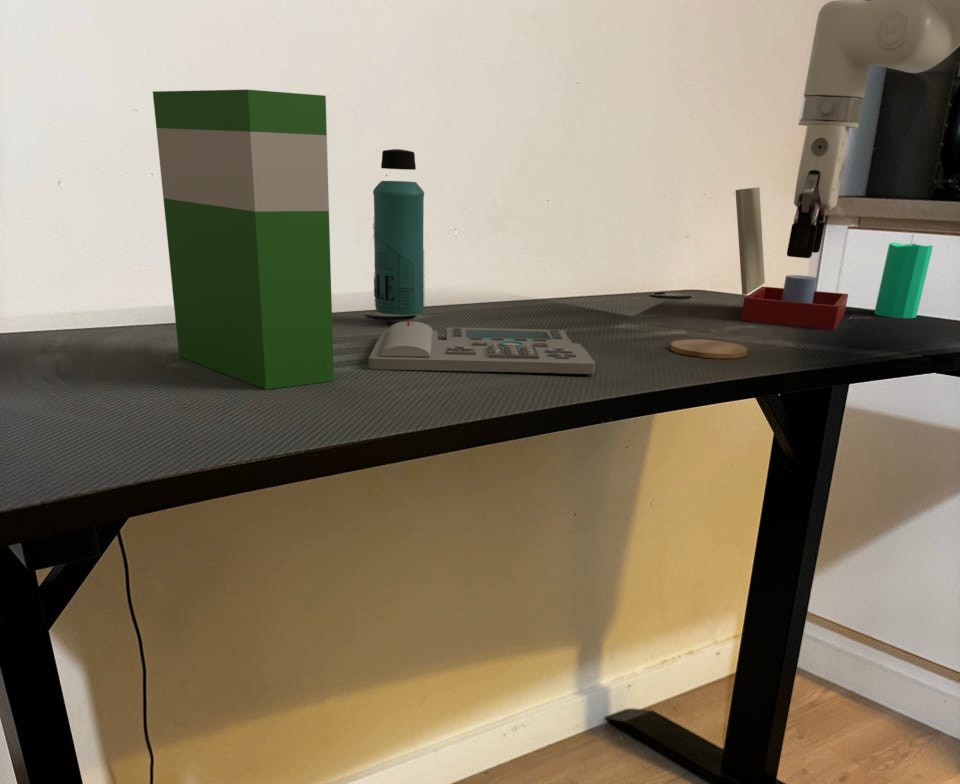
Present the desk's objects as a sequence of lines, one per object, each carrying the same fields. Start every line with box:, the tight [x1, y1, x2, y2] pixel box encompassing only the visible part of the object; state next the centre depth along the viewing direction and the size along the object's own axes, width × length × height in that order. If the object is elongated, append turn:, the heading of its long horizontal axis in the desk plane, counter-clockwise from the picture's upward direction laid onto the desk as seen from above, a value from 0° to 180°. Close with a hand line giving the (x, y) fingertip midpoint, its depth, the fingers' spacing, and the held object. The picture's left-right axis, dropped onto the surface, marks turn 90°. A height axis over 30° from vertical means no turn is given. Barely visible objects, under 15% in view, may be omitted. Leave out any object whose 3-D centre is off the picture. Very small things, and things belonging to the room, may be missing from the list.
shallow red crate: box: [740, 285, 849, 331], centre depth 137 cm, size 12×15×4 cm
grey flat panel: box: [735, 186, 766, 296], centre depth 135 cm, size 13×15×1 cm
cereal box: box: [152, 89, 335, 391], centre depth 91 cm, size 18×7×24 cm, turn 41°
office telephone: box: [368, 319, 596, 375], centre depth 107 cm, size 23×3×20 cm
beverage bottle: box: [372, 148, 426, 316], centre depth 119 cm, size 6×7×20 cm
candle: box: [874, 232, 934, 319], centre depth 142 cm, size 6×6×12 cm
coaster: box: [670, 338, 749, 360], centre depth 115 cm, size 9×9×1 cm
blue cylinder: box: [782, 274, 818, 303], centre depth 136 cm, size 4×4×6 cm
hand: (803, 254), depth 133 cm, fingers open, 9 cm apart
